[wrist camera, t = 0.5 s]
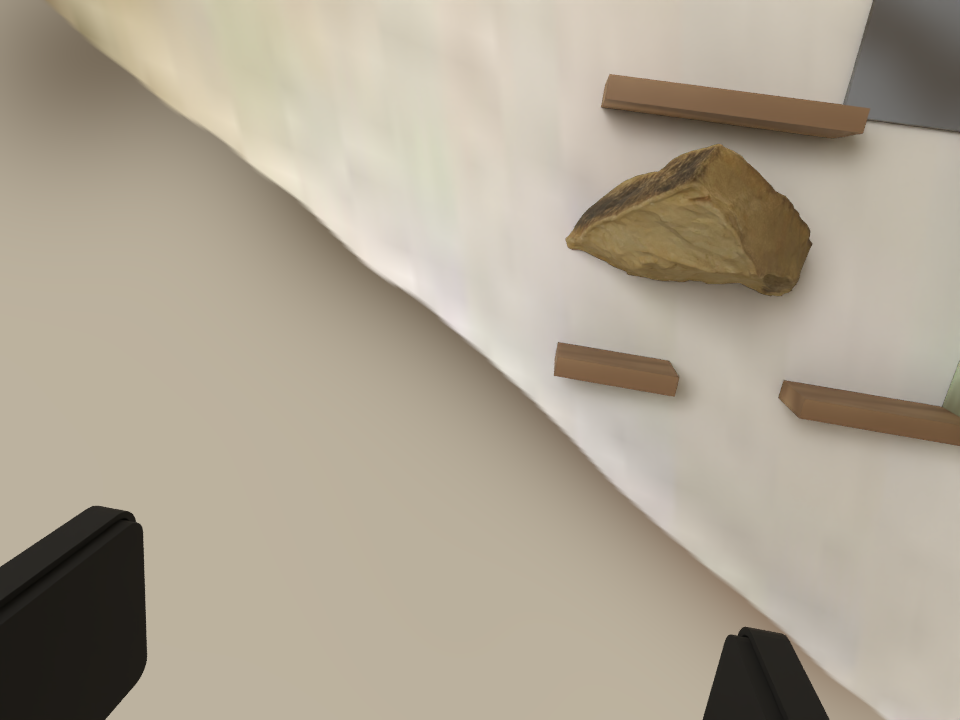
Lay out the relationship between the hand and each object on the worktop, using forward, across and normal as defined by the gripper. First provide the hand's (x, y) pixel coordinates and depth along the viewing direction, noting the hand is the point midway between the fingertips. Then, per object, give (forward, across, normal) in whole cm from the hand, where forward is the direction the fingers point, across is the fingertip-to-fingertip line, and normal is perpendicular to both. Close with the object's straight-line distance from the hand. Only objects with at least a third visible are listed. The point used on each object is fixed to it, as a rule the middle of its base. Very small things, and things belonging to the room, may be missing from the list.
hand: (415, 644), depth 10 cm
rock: (+25, -8, -5) cm, 27 cm away
